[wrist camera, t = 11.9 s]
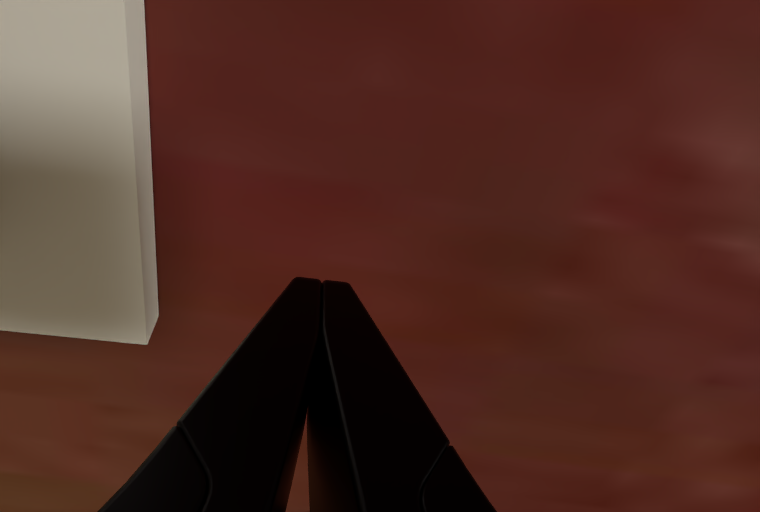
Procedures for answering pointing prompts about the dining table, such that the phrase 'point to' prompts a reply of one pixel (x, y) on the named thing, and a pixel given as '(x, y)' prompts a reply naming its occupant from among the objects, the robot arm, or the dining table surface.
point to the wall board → (76, 171)
